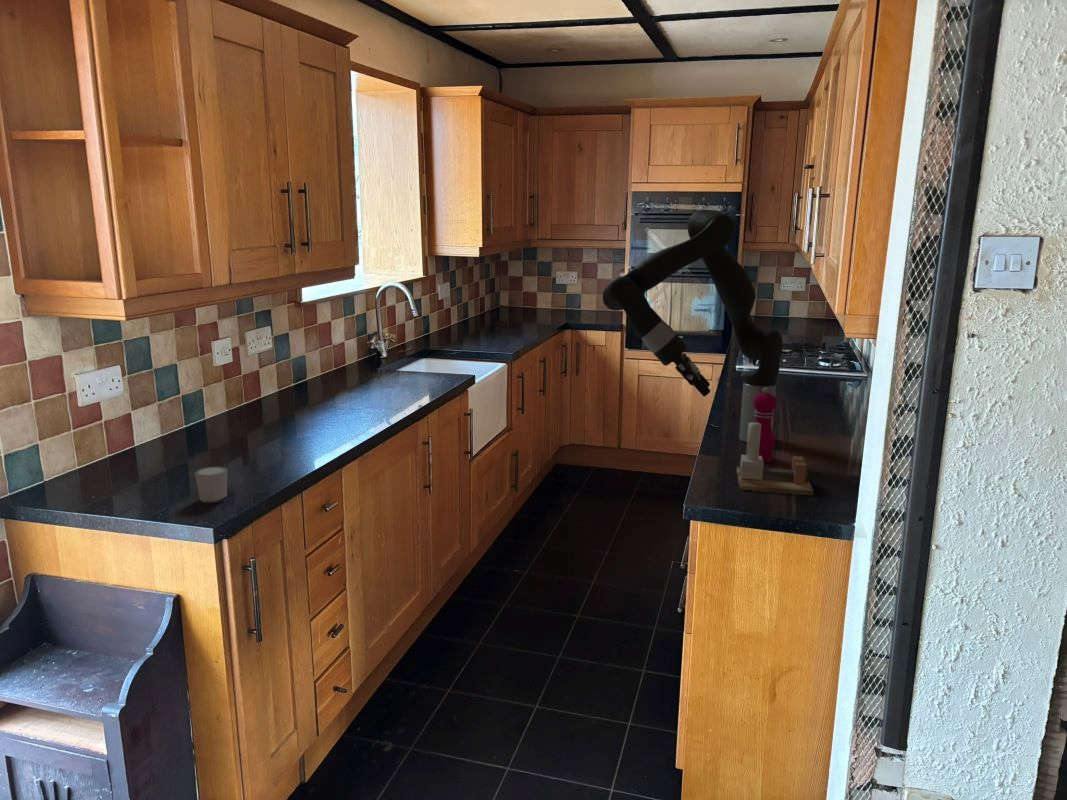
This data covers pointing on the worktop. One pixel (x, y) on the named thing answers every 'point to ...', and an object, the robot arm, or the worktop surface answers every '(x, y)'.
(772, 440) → the pepper mill
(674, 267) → the robot arm
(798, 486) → the track
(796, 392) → the worktop surface
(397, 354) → the worktop surface
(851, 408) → the worktop surface
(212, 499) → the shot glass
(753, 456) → the white handled block
